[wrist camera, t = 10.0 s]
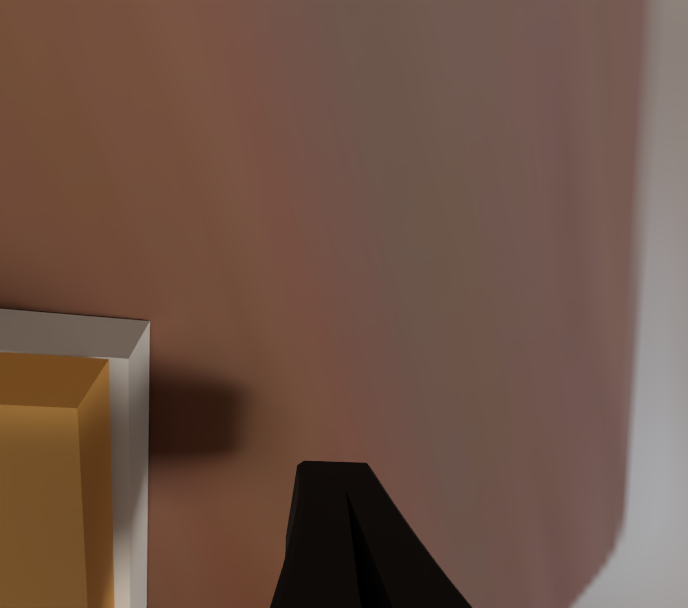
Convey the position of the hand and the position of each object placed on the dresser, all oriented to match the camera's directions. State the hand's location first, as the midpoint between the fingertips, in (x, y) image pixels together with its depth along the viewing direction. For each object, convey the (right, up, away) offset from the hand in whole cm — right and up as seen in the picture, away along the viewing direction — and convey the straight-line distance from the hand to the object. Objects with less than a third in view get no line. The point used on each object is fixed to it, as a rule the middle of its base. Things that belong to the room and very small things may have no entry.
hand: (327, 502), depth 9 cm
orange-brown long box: (-5, -2, 0) cm, 6 cm away
